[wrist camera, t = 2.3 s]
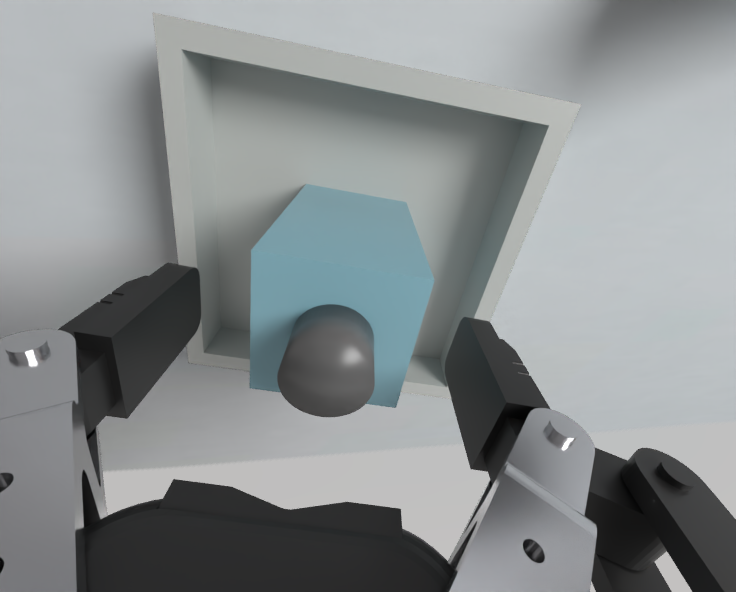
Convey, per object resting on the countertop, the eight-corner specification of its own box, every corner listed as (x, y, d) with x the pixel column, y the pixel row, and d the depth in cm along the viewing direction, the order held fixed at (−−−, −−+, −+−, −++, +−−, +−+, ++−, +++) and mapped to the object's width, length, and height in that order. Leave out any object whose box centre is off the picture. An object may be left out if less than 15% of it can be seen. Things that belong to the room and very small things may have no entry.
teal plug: (306, 183, 13) (224, 282, 6) (406, 202, 14) (448, 317, 6) (298, 274, 15) (229, 435, 8) (386, 289, 16) (399, 456, 8)
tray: (198, 31, 12) (153, 12, 9) (540, 104, 13) (581, 104, 10) (213, 327, 18) (188, 363, 15) (445, 361, 19) (457, 400, 16)
